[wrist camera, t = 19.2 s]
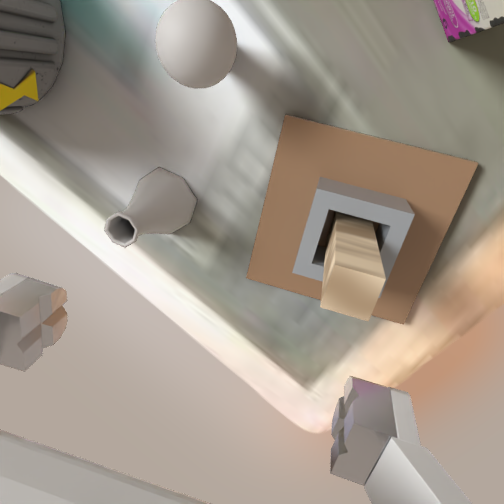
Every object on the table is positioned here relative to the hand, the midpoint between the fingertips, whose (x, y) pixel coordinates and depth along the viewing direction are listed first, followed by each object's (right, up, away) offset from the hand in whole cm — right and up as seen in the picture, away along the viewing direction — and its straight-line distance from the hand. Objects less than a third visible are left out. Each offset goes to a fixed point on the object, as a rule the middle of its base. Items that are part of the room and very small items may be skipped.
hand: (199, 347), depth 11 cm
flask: (-8, +9, +33) cm, 35 cm away
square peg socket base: (+12, +6, +30) cm, 32 cm away
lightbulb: (-1, +21, +26) cm, 34 cm away
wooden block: (+11, +5, +29) cm, 31 cm away
